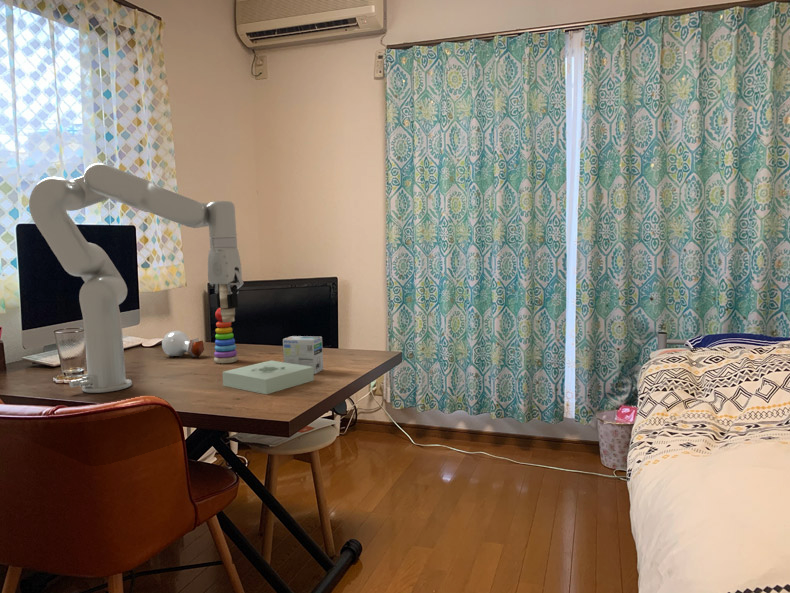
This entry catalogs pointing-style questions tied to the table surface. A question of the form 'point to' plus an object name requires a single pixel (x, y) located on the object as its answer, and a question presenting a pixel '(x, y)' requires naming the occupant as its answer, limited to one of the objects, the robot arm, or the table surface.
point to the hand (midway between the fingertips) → (227, 306)
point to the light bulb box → (304, 351)
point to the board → (268, 376)
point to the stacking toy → (224, 341)
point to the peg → (225, 304)
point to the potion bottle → (181, 344)
